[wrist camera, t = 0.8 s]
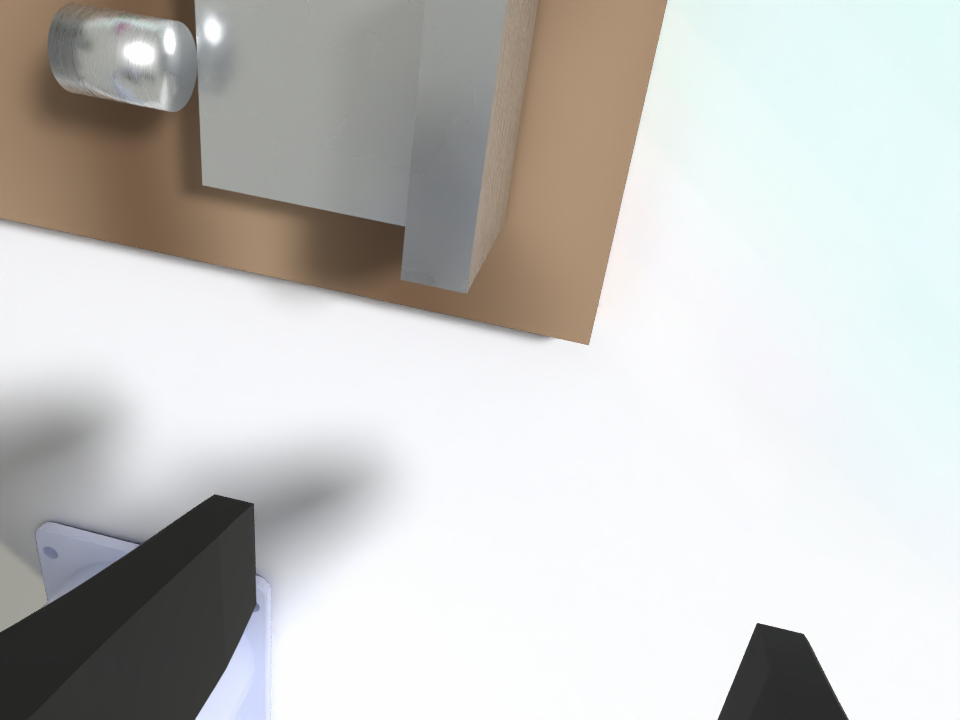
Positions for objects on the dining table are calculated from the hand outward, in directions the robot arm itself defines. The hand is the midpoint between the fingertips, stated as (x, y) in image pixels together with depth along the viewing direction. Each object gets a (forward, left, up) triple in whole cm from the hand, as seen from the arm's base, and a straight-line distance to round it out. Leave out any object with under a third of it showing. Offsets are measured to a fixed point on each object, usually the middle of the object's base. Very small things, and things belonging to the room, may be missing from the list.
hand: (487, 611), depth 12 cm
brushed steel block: (+6, +6, -8) cm, 12 cm away
